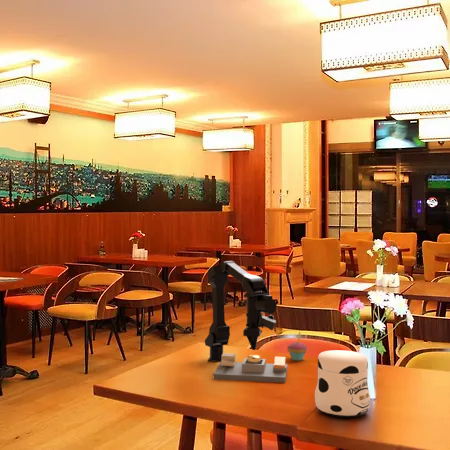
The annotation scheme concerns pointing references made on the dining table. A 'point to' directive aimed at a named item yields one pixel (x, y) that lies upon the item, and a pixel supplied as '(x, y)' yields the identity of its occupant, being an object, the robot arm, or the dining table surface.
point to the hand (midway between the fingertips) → (253, 349)
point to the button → (254, 359)
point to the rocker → (280, 362)
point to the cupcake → (297, 350)
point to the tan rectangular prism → (228, 359)
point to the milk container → (342, 383)
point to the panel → (251, 372)
